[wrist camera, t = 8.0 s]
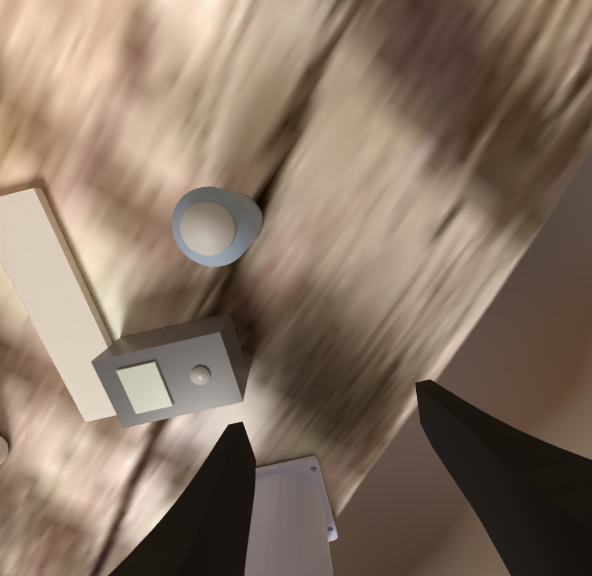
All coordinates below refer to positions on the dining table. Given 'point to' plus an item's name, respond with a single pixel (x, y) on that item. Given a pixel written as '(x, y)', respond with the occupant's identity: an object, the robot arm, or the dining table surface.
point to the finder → (173, 370)
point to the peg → (215, 225)
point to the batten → (54, 296)
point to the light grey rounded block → (3, 449)
